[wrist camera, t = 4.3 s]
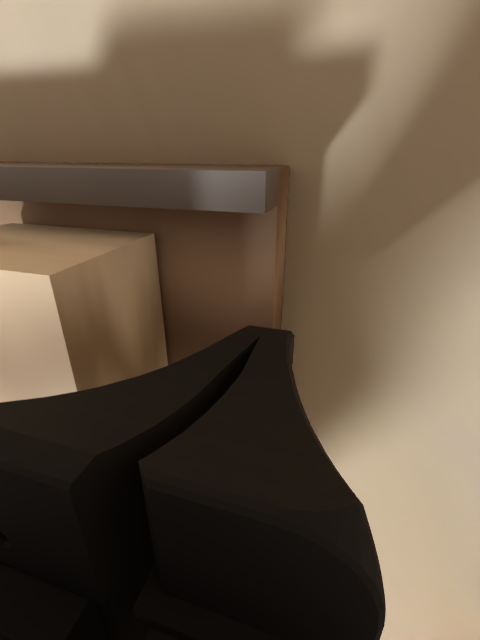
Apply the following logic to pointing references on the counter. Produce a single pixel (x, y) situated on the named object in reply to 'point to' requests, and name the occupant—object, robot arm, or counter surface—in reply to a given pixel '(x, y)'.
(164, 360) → the beige box
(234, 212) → the guide track
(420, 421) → the counter surface
